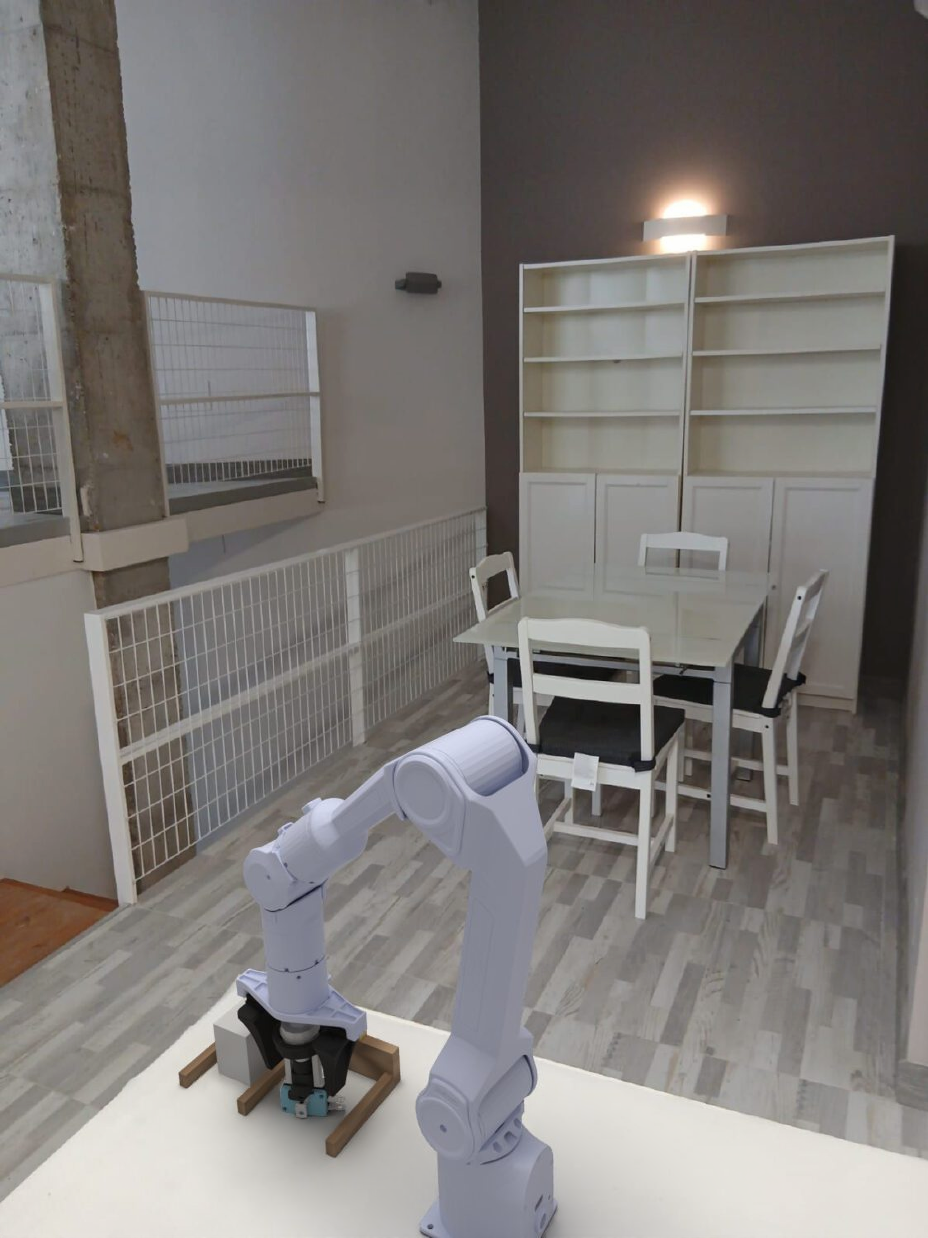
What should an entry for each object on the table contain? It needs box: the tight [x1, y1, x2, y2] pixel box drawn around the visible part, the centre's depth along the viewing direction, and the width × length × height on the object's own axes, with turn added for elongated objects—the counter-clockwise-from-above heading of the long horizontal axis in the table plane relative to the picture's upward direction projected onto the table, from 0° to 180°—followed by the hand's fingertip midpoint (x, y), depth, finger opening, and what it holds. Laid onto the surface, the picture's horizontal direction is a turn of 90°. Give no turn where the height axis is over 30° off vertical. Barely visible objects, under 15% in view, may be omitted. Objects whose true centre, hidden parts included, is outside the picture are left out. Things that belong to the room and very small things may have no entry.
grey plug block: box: [212, 998, 268, 1088], centre depth 98 cm, size 4×6×6 cm
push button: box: [273, 1021, 347, 1119], centre depth 91 cm, size 7×5×10 cm
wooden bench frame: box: [178, 1029, 402, 1158], centre depth 95 cm, size 20×11×5 cm, turn 61°
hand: (305, 1076), depth 91 cm, fingers open, 7 cm apart
